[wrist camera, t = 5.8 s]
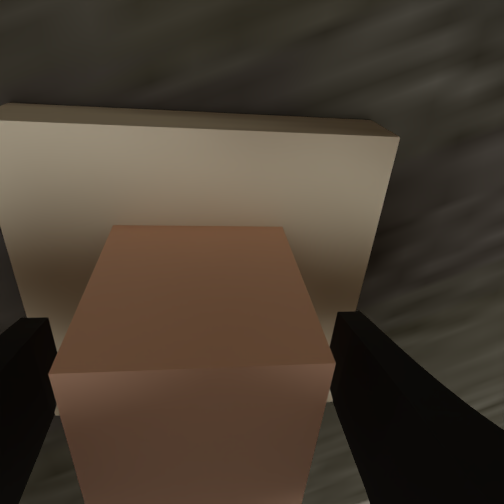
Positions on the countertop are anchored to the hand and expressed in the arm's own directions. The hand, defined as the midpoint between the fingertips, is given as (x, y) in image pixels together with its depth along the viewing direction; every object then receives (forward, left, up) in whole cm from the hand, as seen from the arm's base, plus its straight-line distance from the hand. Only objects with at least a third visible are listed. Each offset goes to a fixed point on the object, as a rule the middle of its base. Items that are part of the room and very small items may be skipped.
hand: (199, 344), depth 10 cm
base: (0, 0, -4) cm, 4 cm away
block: (0, 0, -2) cm, 2 cm away
